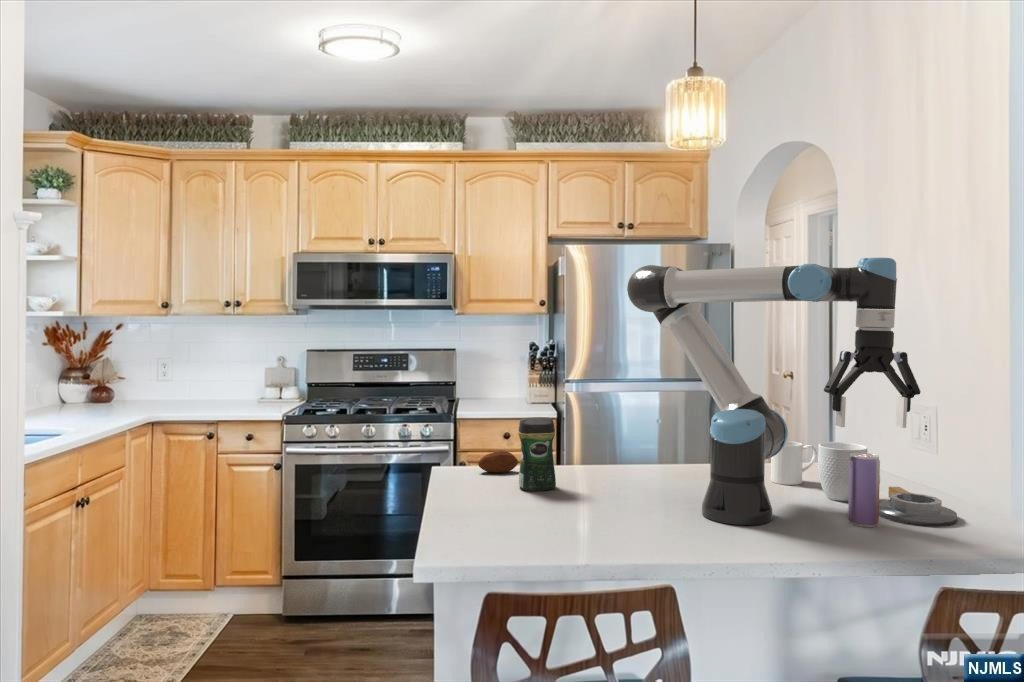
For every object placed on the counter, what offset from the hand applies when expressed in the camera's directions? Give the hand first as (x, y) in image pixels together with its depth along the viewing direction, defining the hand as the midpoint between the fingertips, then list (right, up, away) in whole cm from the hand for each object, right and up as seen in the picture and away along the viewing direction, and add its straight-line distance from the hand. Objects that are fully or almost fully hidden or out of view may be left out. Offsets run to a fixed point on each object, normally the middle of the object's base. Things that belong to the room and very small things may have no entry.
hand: (870, 426), depth 159 cm
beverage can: (-2, -21, -1) cm, 21 cm away
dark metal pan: (+12, -21, +6) cm, 25 cm away
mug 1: (-2, -20, +38) cm, 43 cm away
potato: (-82, -19, +50) cm, 98 cm away
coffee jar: (-72, -20, +31) cm, 81 cm away
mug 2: (+3, -20, +19) cm, 28 cm away
